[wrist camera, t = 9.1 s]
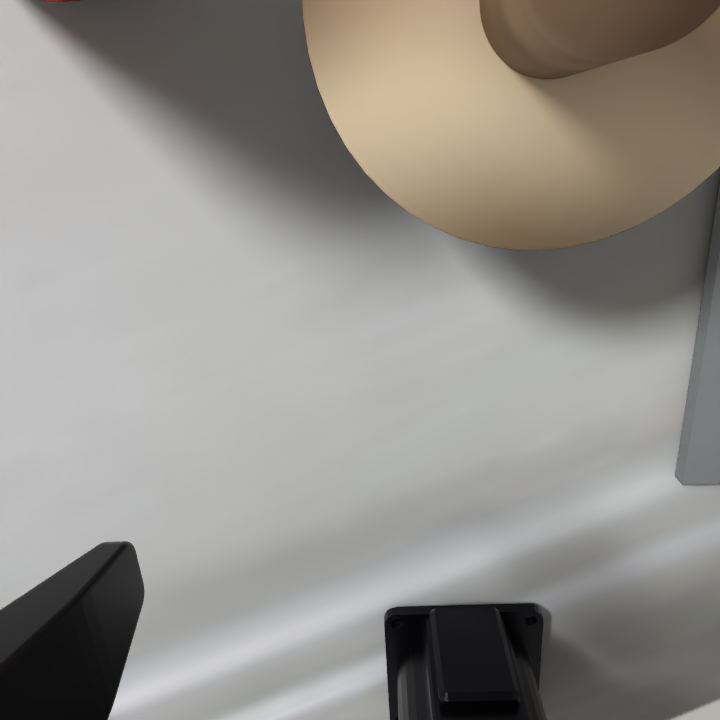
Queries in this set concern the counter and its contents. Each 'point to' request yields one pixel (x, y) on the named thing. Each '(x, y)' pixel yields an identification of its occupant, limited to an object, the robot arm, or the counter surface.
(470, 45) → the lid
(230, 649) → the counter surface
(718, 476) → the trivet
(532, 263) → the counter surface
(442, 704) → the robot arm
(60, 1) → the soda can
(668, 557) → the counter surface
